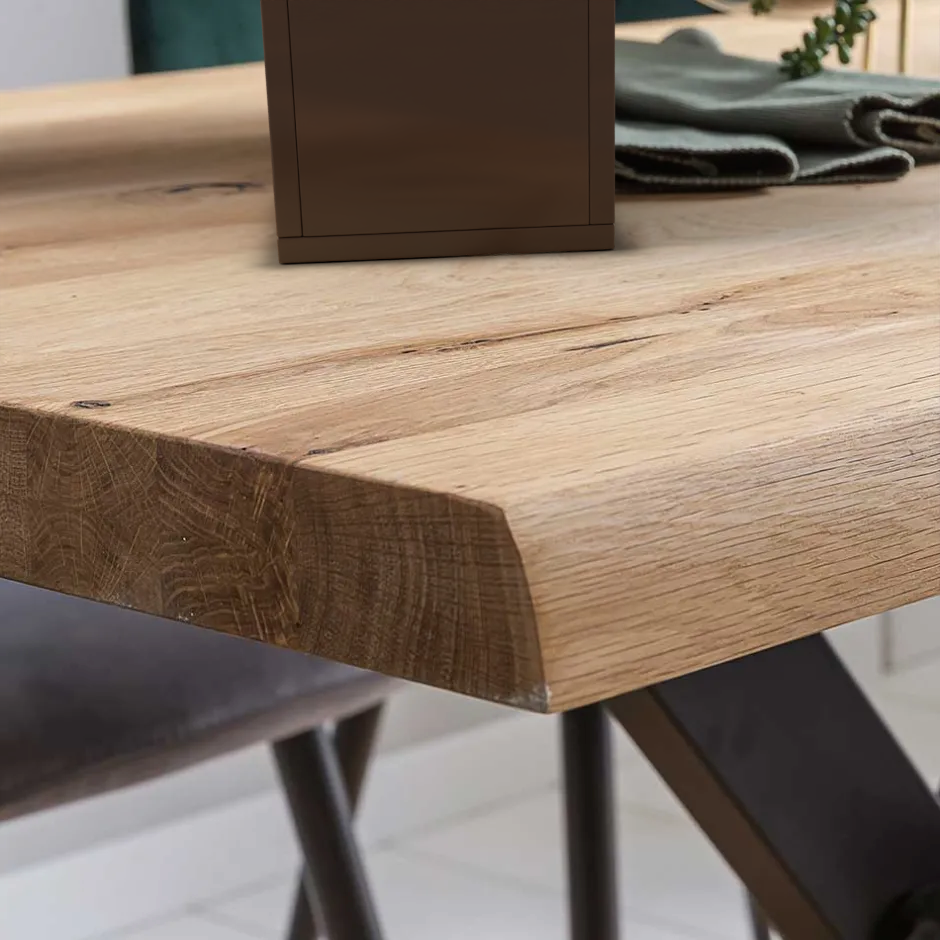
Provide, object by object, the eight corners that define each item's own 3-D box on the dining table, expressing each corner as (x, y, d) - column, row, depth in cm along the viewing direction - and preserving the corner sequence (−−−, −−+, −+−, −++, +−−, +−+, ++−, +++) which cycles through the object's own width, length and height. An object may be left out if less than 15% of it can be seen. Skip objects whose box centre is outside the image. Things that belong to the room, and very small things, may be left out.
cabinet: (293, 197, 68) (277, -42, 64) (565, 186, 68) (563, -51, 65) (278, 263, 55) (257, -32, 51) (615, 249, 55) (615, -44, 52)
